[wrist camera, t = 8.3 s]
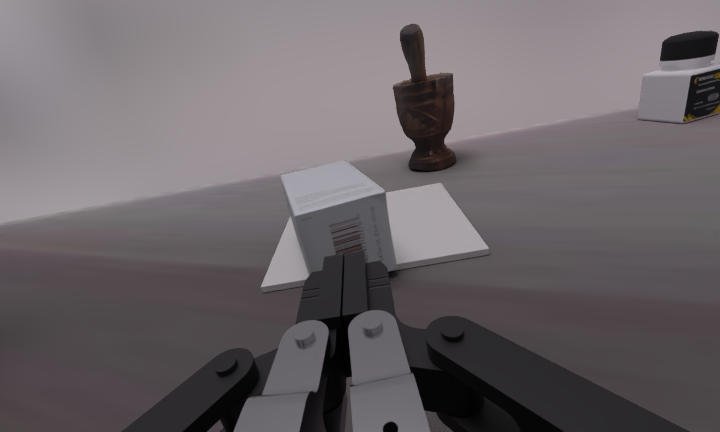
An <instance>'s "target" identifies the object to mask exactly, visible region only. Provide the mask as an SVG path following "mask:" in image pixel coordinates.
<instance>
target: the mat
mask: <svg viewBox="0 0 720 432" xmlns="http://www.w3.org/2000/svg"><path fill="white" fill-rule="evenodd" d="M386 200H387V208H388V216H389V223H390V230H391V236H392V241H393V247H394V253H395V258H396V263H397V269H395V270H401V269H407V268H413V267H419V266H425V265H431V264H436V263H442V262H448V261H454V260H460V259H466V258H472V257H478V256H484V255H489V248H488V246H487V245H486V244H485V242H484V241H483V240H482V238H481V237H480V236H479V234H478V233H477V232H476V230H475V229H474V227H473V226H472V225H471V223H470V222H469V221H468V219H467V218H466V217H465V215H464V214H463V213H462V211H461V210H460V209H459V207H458V206H457V204H456V203H455V202H454V200H453V199H452V198H451V196H450V195H449V194H448V192H447V191H446V190H445V188H444V187H443V186H442V184H441V183H437V184H431V185H426V186H420V187H415V188H409V189H404V190H398V191H393V192H387V193H386ZM395 270H392V271H395ZM308 277H309V274H308V270H307V267H306V264H305V261H304V258H303V255H302V252H301V249H300V246H299V243H298V239H297V236H296V233H295V230H294V226H293V223H292V219H291V216H290V218H289V220H288V223H287V225H286V228H285V230H284V232H283V235H282V237H281V240H280V242H279V244H278V247H277V249H276V252H275V254H274V257H273V259H272V261H271V264H270V266H269V269H268V271H267V273H266V276H265V278H264V281H263V283H262V285H261V289H262V292H263V293H265V292H271V291H276V290H282V289H288V288H294V287H300V286H304V283H305V280H306V279H307V278H308Z"/></svg>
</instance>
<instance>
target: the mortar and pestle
mask: <svg viewBox="0 0 720 432" xmlns="http://www.w3.org/2000/svg"><path fill="white" fill-rule="evenodd" d="M400 41H401V46H402V50H403V53H404V56H405V59H406V61H407V63H408V66H409V70H410V73H411V79H410V80H407V81H402V82H400V83H397V84H395V85H393V90H394V96H395V101H396V108H397V114H398V117H399V121H400V124H401V126H402V128H403V131H404V133H405V134H406V136H407V137H408V138H410V139H411V140H412V141H413V142H414V143H415V146H416V149H415V150H414V152H413V154H412V156H411V158H410V161H409V167H410V168H411V169H415V170H423V171H433V170H440V169H444V168H446V167H449V166H451V165H452V164H454V163H455V161H456V157H455V154H454V152H453V151H452V150H450V149H449V148H447V146H446V145H445V144H444V138H445V137H446V135H447V134H448V132H449V131H450V129H451V126H452V123H453V116H454V94H453V74H452V73H440V74H434V75H429V76H426V70H425V51H424V38H423V34H422V31H421V29H420V27H419V26H418V25H416V24H410V25H407V26H405V27H404V28H403V29H402V30H401V32H400Z"/></svg>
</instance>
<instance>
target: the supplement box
mask: <svg viewBox="0 0 720 432" xmlns="http://www.w3.org/2000/svg"><path fill="white" fill-rule="evenodd" d="M280 178H281V182H282V185H283V189H284V193H285V197H286V201H287V205H288V208H289V212H290V216H291V219H292V223H293V226H294V230H295V233H296V236H297V239H298V243H299V246H300V249H301V252H302V255H303V258H304V261H305V264H306V267H307V270H308V274H309V275H310V274H311V273H312V272H315V271H321V270H322V268H323V261H324V257H325V256H331V255H337V254H343V253H344V255H345V253H348V252H354V251H360V250H365V254H366V259H367V263H369V262H375V261H381V262H382V263H383V264H384V265H385V266H386V267H387V269H388V272H389V271H392V270H395V269H397V263H396V258H395V253H394V247H393V241H392V236H391V230H390V223H389V216H388V208H387V200H386V191H385V190H384V189H382V188H381V187H380V186H378V185H377V184H376V183H375V182H373V181H372V180H370V179H369V178H368V177H366V176H365V175H364V174H362V173H361V172H360V171H358V170H357V169H356V168H354V167H353V166H352V165H351V164H349V163H348V162H347V161H345V160H342V161H338V162H334V163H330V164H326V165H322V166H318V167H314V168H309V169H305V170H301V171H296V172H292V173H288V174H284V175H281V176H280Z"/></svg>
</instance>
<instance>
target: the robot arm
mask: <svg viewBox="0 0 720 432" xmlns="http://www.w3.org/2000/svg"><path fill="white" fill-rule="evenodd" d="M346 377H352V381H353V385H350V397H351V409H352V422H353V432H430V429H429V425H428V422H427V419H426V415H425V412H424V410H426V411H431V412H436V413H437V415H438V417H439V419H440V420H441V421H442V422H443V423H444V424H445V425H446V426H447V427H449V428H450V429H451V430H452V431H453V432H689V431H687V430H685V429H683V428H681V427H680V426H678V425H676V424H674V423H672V422H670V421H668V420H666V419H664V418H662V417H660V416H658V415H656V414H654V413H652V412H650V411H648V410H646V409H644V408H642V407H640V406H638V405H636V404H634V403H632V402H630V401H628V400H626V399H624V398H622V397H620V396H618V395H616V394H614V393H612V392H610V391H608V390H606V389H604V388H602V387H600V386H598V385H597V384H595V383H593V382H591V381H589V380H587V379H585V378H583V377H581V376H579V375H577V374H575V373H573V372H571V371H569V370H567V369H565V368H563V367H561V366H559V365H557V364H555V363H553V362H551V361H549V360H547V359H545V358H543V357H541V356H539V355H537V354H535V353H533V352H531V351H529V350H527V349H525V348H523V347H521V346H519V345H517V344H515V343H514V342H512V341H510V340H508V339H506V338H504V337H502V336H500V335H498V334H496V333H494V332H492V331H490V330H488V329H486V328H484V327H482V326H480V325H478V324H476V323H474V322H472V321H470V320H468V319H466V318H463V317H458V316H446V317H441V318H438V319H436V320H434V321H433V322H432V323H431V324H430V325H429V326H428V327H427V329H418V328H412V327H409V326H407V325H405V324H403V323H402V322H400V321H399V320H398V318H397V317H396V314H395V309H394V303H393V297H392V291H391V286H390V280H389V274H388V269H387V267H386V266H385V265H384V264H383V263H382V262H381V261H375V262H369V263H367V259H366V254H365V250H360V251H354V252H348V253H345V255H344V253H343V254H337V255H331V256H325V257H324V261H323V268H322V270H321V271H315V272H312V273H311V274H310V275H309V277H308V278H307V279H306V280H305V283H304V288H303V292H302V297H301V301H300V306H299V310H298V315H297V320H296V324H295V325H294V326H293V327H291V328H290V329H289V330H287V332H286V333H285V334H284V335H283V337H282V339H281V342H280V345H279V348H277V349H275V350H273V351H271V352H269V353H266V354H264V355H261V356H259V357H256V358H253V355H252V353H251V352H250V351H249V350H247V349H243V348H236V349H231V350H228V351H225V352H223V353H221V354H219V355H218V356H216V357H215V358H214V359H212V360H211V361H210V362H209V363H207V364H206V365H205V366H203V367H202V368H201V369H200V370H198V371H197V372H196V373H195V374H193V375H192V376H191V377H190V378H188V379H187V380H186V381H185V382H183V383H182V384H181V385H180V386H178V387H177V388H176V389H175V390H173V391H172V392H171V393H170V394H168V395H167V396H166V397H165V398H163V399H162V400H161V401H160V402H158V403H157V404H156V405H155V406H153V407H152V408H151V409H149V410H148V411H147V412H146V413H144V414H143V415H142V416H141V417H139V418H138V419H137V420H136V421H134V422H133V423H132V424H131V425H129V426H128V427H127V428H126V429H124V430H123V431H122V432H207V431H208V430H209V429H210V428H211V427H212V426H213V425H214V424H215V423H216V422H217V421H218V420H219V419H220V421H221V423H222V425H223V427H224V428H223V429H222V430H221V431H220V432H345V422H346V412H347V395H346Z"/></svg>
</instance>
